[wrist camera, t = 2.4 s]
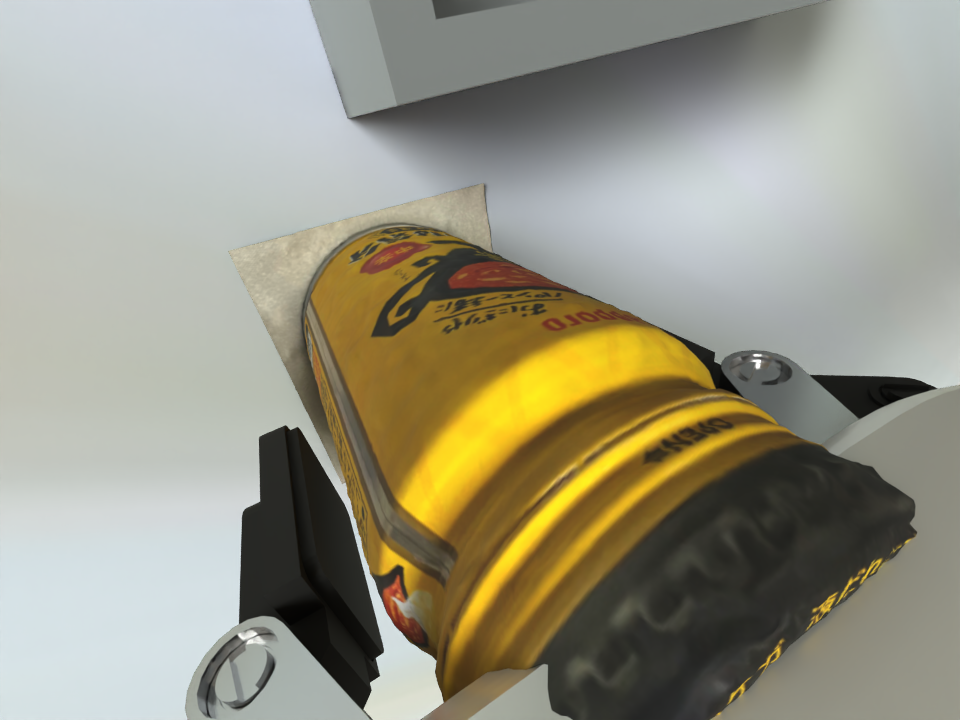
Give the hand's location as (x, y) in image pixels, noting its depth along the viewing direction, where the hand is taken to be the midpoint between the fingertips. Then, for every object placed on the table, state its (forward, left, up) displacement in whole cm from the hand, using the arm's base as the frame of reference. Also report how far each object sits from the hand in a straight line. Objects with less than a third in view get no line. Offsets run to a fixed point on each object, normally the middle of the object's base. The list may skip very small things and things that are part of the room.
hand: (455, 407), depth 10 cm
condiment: (0, 0, -5) cm, 5 cm away
